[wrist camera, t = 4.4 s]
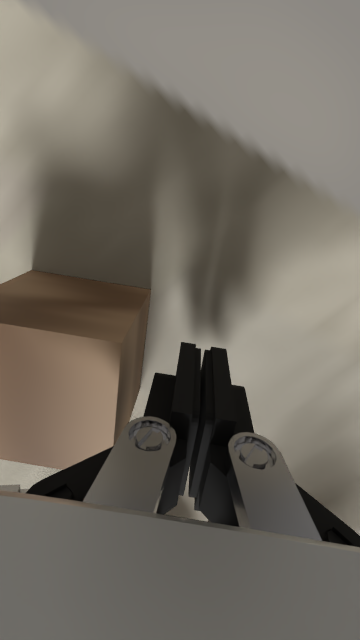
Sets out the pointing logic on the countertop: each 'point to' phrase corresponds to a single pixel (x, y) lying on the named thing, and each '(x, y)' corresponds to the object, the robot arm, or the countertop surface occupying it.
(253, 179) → the countertop surface
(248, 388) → the countertop surface
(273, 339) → the countertop surface
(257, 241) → the countertop surface
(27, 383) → the walnut block
